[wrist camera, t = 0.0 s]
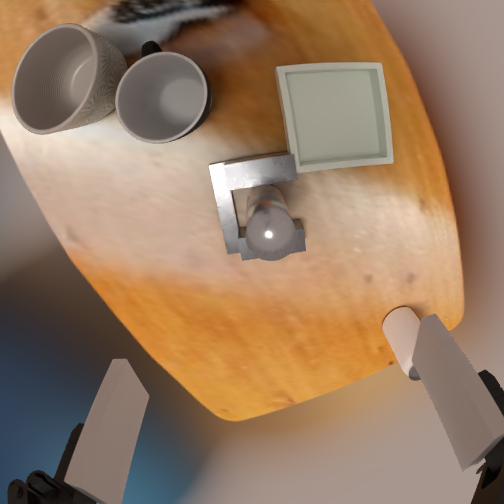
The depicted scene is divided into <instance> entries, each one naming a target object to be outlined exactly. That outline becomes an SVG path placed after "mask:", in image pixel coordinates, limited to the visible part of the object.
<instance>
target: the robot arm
mask: <svg viewBox="0 0 504 504" xmlns="http://www.w3.org/2000/svg"><path fill="white" fill-rule="evenodd" d="M411 361H412V363H413V365H414V367H415V369H416V371H417V372H418V374H419V376H420V378H421V380H422V382H423V384H424V386H425V388H426V390H427V392H428V394H429V396H430V398H431V400H432V402H433V405H434V407H435V409H436V411H437V413H438V415H439V417H440V419H441V422H442V423H443V426H444V428H445V431H446V433H447V435H448V437H449V440H450V442H451V444H452V446H453V449H454V451H455V454H456V456H457V459H458V461H459V464H460V466H461V469H462V471H465V470H467V469H469V468H471V467H473V466H475V465H476V464H478V463H479V462H480V461H481V460H482V459H483V458H485V460H486V462H485V463H484V464H483V465H482V466H481V467H480V468H479V469H478V470H477V472H476V474H478V473H480V472H481V471H482V473H481V477H480V480H479V483H478V485H477V488H476V491H475V494H474V496H473V499H472V502H471V504H504V391H503V389H502V388H501V387H500V384H499V383H498V381H497V380H496V378H495V377H494V376H493V375H492V374H491V373H489V372H488V371H487V370H483V371H481V372H479V373H477V372H476V370H475V369H474V367H473V366H472V364H471V363H470V361H469V360H468V358H467V357H466V355H465V354H464V352H463V351H462V350H461V348H460V347H459V345H458V344H457V342H456V341H455V340H454V338H453V337H452V336H451V334H450V333H449V331H448V330H447V329H446V327H445V326H444V324H443V323H442V322H441V320H440V319H439V318H438V316H437V315H436V314H433V315H429V316H426V317H422V318H421V322H420V327H419V331H418V336H417V340H416V344H415V348H414V352H413V356H412V360H411ZM148 398H149V395H148V393H147V392H146V390H145V389H144V387H143V386H142V384H141V382H140V381H139V379H138V378H137V376H136V374H135V373H134V371H133V369H132V368H131V366H130V364H129V362H128V361H127V359H113V360H112V362H111V364H110V367H109V369H108V371H107V373H106V376H105V378H104V380H103V382H102V384H101V387H100V389H99V391H98V393H97V396H96V398H95V400H94V403H93V405H92V407H91V410H90V412H89V415H88V417H87V420H86V422H85V424H82V423H79V424H78V425H77V426H76V427H75V429H74V430H73V431H72V433H71V435H70V438H69V440H68V443H67V445H66V448H65V449H66V450H65V451H64V453H63V455H62V458H61V461H60V464H59V466H58V469H57V472H56V474H55V477H54V479H53V478H51V477H50V476H49V475H47V474H46V473H45V472H43V471H40V470H36V471H33V472H32V473H30V475H29V476H28V477H27V480H26V483H24V482H23V481H21V480H19V479H16V480H13V481H12V482H11V483H10V484H9V486H8V504H96V503H99V504H121V502H122V498H123V493H124V489H125V485H126V481H127V477H128V472H129V468H130V464H131V460H132V456H133V452H134V449H135V444H136V441H137V437H138V433H139V430H140V426H141V423H142V419H143V415H144V412H145V409H146V405H147V401H148Z"/></svg>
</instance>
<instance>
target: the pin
mask: <svg viewBox="0 0 504 504" xmlns="http://www.w3.org/2000/svg"><path fill="white" fill-rule="evenodd" d="M296 242H297V231H296V228H295V226H294V223H293V220H292V218H291V215H290V213H289V210H288V208H287V206H286V203H285V201H284V198H283V196H282V194H281V192H280V191H279V189H277V188H276V187H275V186H273V185H269V184H266V185H259V186H256V187H255V188H254V189H252V191H251V192H250V193H249V195H248V199H247V222H246V243H247V246H248V248H249V250H250V251H251V252H252V253H253V254H254V255H255V256H256V257H258V258H260V259H263V260H267V261H275V260H279V259H282V258H284V257H286V256H287V255H288V254H290V252H291V251H292V250H293V249H294V247H295V245H296Z"/></svg>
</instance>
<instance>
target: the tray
mask: <svg viewBox="0 0 504 504" xmlns="http://www.w3.org/2000/svg"><path fill="white" fill-rule="evenodd" d="M274 73H275V79H276V84H277V89H278V95H279V101H280V107H281V113H282V119H283V125H284V131H285V137H286V144H287V150H288V152H289V153H290V154H294V157H295V164H296V171H297V173H305V172H312V171H320V170H329V169H338V168H347V167H357V166H367V165H379V164H391V163H394V161H393V146H392V134H391V124H390V115H389V107H388V99H387V92H386V85H385V79H384V73H383V68H382V63H371V62H333V63H311V64H298V65H287V66H277V67H276V69H275V71H274Z"/></svg>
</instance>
